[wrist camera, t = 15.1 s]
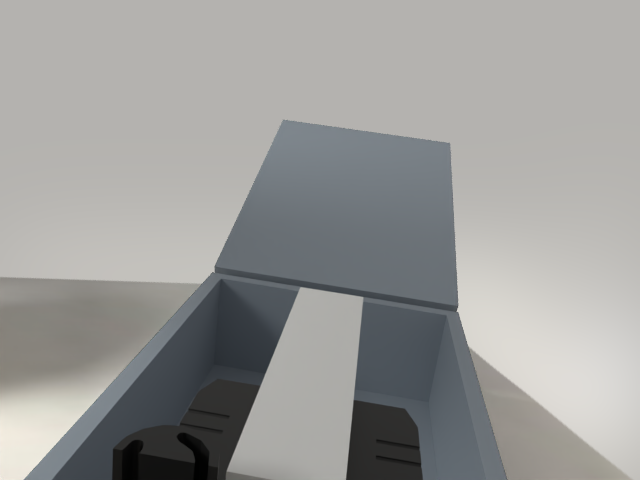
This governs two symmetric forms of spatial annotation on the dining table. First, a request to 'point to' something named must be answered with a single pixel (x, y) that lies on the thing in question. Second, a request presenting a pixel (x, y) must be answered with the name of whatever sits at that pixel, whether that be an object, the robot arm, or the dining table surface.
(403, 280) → the lid
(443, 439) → the mailer box
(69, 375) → the dining table surface
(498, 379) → the dining table surface
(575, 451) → the dining table surface
